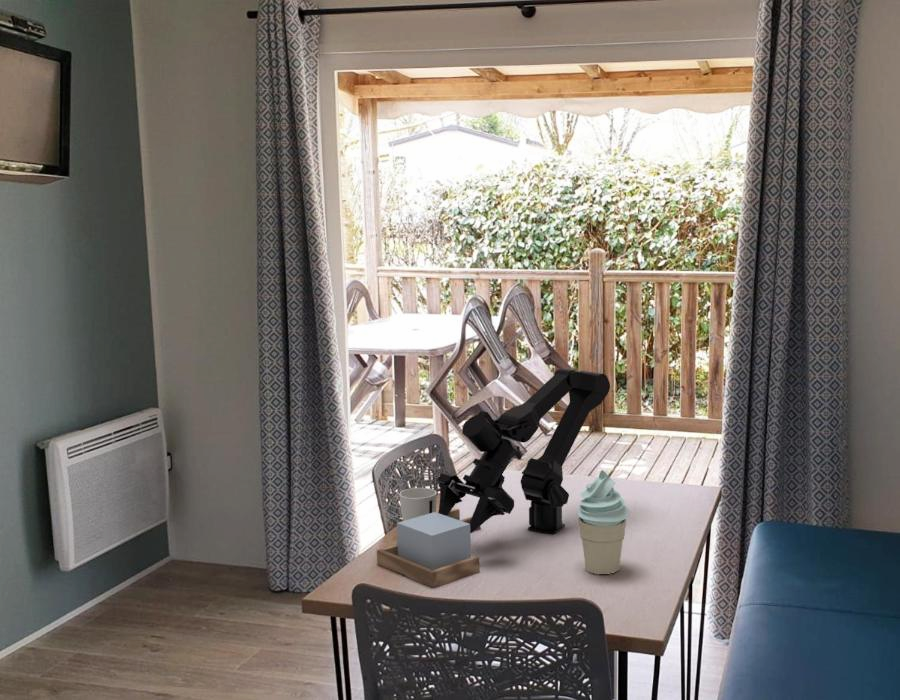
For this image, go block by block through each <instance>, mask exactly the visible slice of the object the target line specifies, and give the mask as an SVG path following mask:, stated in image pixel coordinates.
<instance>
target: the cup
mask: <svg viewBox="0 0 900 700" xmlns="http://www.w3.org/2000/svg"><path fill="white" fill-rule="evenodd" d="M437 494H438V493H437V490H435V489H432V488H429V487H412V488H406V489H403V490H401V491H400V492H399V494H398V495H399V503H400V513H401V517H402V521H405V520H409V519H412V518H416V517H419V516H423V515H426V514H430V513H433V512H436V513H437Z"/></svg>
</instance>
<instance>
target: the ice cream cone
mask: <svg viewBox="0 0 900 700" xmlns="http://www.w3.org/2000/svg"><path fill="white" fill-rule="evenodd" d="M598 475H599V476H598V477H597V478H596V479H595V480H594V481H593V482H592V483H587V484H586V490H584V491H582V492H581V493H580V496H581V498H583V499H582V500H580V501H579V504H580V505H579V508H578V510H577V515H578V526H579V534H580V539H581V542H582V550H583V551H582V552H583V556H584V557H583V558H584V567H585V570H586V571H587V572H589V573H590V574H593V573H594V574H593V575H599V574H608V573H613V572H616V571H618V570H619V571H620V565H621V556H622V549H623V542H624V540H625V533H626V526H627V520H626V519H627V518H628V517H629V515H630V510H629V508H628V507H627V506H626V505H625V504H626V503H625V500H624V498H623V497H622V496H621V494H620V492H618V490H615V488H614V487H615V486H616V484H617V482H616V481H614V480H613V479H612V478H611V477H610V476H609V474H608V473H606V471H605V470H604V469H603V470H600V472H599V474H598ZM619 571H618V572H619ZM616 573H617V572H616Z"/></svg>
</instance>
